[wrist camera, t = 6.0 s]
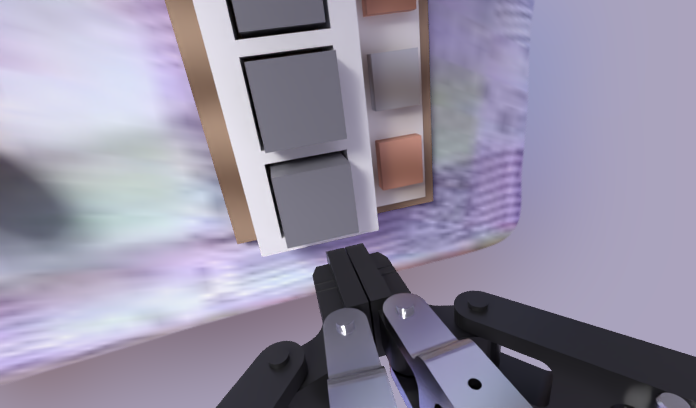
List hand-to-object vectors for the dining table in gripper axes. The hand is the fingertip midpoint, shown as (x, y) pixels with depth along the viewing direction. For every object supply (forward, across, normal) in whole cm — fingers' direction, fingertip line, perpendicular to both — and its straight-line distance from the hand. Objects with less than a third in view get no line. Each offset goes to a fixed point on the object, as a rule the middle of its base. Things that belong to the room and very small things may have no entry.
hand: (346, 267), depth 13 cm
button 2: (+10, 0, -6) cm, 12 cm away
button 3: (+10, 0, 0) cm, 10 cm away
